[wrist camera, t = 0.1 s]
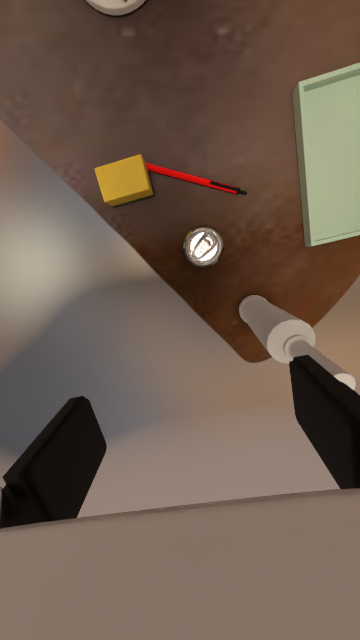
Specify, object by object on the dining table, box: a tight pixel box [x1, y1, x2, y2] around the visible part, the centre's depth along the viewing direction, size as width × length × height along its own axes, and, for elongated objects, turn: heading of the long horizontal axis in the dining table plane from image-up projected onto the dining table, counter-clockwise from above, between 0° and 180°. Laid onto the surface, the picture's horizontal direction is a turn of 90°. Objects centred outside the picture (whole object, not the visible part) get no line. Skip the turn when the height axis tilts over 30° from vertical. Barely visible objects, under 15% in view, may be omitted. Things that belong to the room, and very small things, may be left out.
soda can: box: [183, 225, 224, 268], centre depth 32 cm, size 5×5×12 cm
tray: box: [292, 63, 360, 247], centre depth 33 cm, size 21×10×2 cm, turn 14°
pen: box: [146, 163, 247, 195], centre depth 35 cm, size 1×19×1 cm, turn 76°
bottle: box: [239, 295, 356, 390], centre depth 28 cm, size 5×5×25 cm
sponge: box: [94, 154, 154, 207], centre depth 34 cm, size 4×7×4 cm, turn 104°
